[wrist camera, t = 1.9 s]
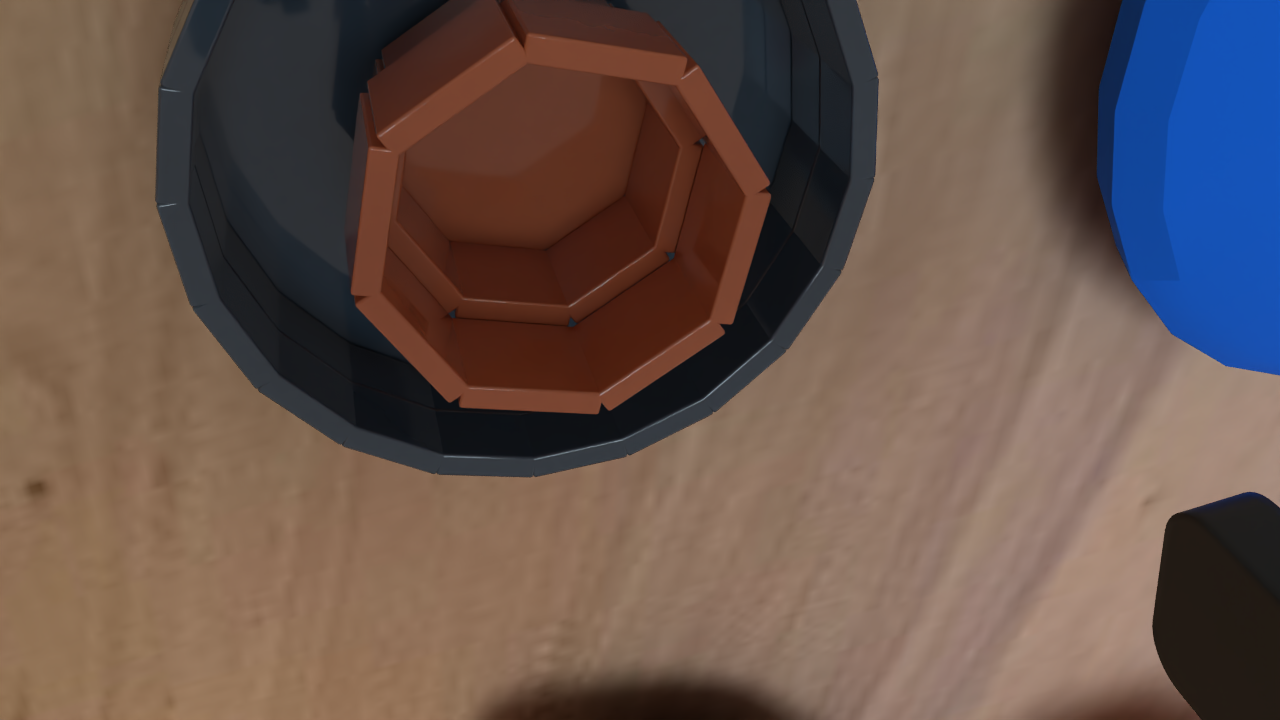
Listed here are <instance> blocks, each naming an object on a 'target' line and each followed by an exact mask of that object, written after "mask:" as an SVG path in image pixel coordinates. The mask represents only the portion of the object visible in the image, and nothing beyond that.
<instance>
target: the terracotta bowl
mask: <svg viewBox="0 0 1280 720" xmlns="http://www.w3.org/2000/svg"><path fill="white" fill-rule="evenodd" d="M381 56H382V60H381V59H376V60H375V62H374V71H373V78H371V79H370V80H368V82H367V88H368V93H360V95H359V101H358V110H357V119H356V127H355V136H354V145H353V154H352V162H351V171H350V180H349V188H348V197H347V206H346V215H345V223H344V235H345V244H346V254H347V264H348V273H349V283H350V292H351V294H352V295H354V300H355V306H356V307H357V308H358V310H359V311H360V312H361V313H362V314H363V315H364V316H365V317H366V318H367V319H368V320H369V321H370V322H371V323H372V324H373V325H374V326H375V327H376V328H377V329H378V330H379V331H380V332H381V333H382V334H383V335H384V336H385V337H386V339H387V340H388V341H389V342H390V343H391V344H392V345H393V346H394V347H395V348H396V349H397V350H398V351H399V352H400V353H401V354H402V355H403V356H404V357H405V358H406V359H407V360H408V361H409V362H410V363H411V364H412V365H413V366H414V367H415V369H416V370H417V371H418V372H419V373H420V374H421V375H422V376H423V377H424V378H425V379H426V380H427V381H428V382H429V383H430V384H431V385H432V386H433V387H434V388H435V389H436V390H437V391H438V392H439V393H440V394H441V395H442V396H443V397H444V399H445V400H446V401H448V402H449V403H450V402H452V401H454V400H455V399H457V398H458V403H459V406H460V407H461V408H477V409H497V410H518V411H538V412H559V413H579V414H598V413H599V411H600V407H601V403H602V404H603V405H604V406H605V408H606V409H607V410H609V411H610V410H612V409H614V408H615V407H617V406H618V405H620V404H621V403H623V402H624V401H626V400H627V399H629V398H630V397H632V396H633V395H635V394H636V393H638V392H639V391H641V390H642V389H644V388H645V387H647V386H648V385H650V384H651V383H652V382H654V381H655V380H657V379H658V378H660V377H661V376H663V375H664V374H666V373H667V372H669V371H670V370H672V369H673V368H675V367H676V366H678V365H679V364H681V363H682V362H684V361H685V360H687V359H688V358H690V357H691V356H693V355H694V354H696V353H697V352H699V351H700V350H702V349H703V348H705V347H706V346H708V345H709V344H711V343H712V342H714V341H715V340H717V339H718V338H720V337H721V336H723V335H724V334H725V330H724V329H723V327H722V325H721V324H729V325H730V324H732V323H733V321H734V318H735V314H736V311H737V308H738V305H739V301H740V298H741V295H742V291H743V288H744V285H745V282H746V278H747V275H748V272H749V268H750V265H751V262H752V259H753V255H754V252H755V249H756V245H757V242H758V239H759V236H760V232H761V229H762V226H763V222H764V219H765V216H766V213H767V209H768V206H769V203H770V199H771V194H770V192H769V191H768V190H767V189H766V187H767V186H769V185H770V181H769V179H768V177H767V176H766V174H765V172H764V171H763V169H762V167H761V166H760V164H759V162H758V161H757V159H756V158H755V156H754V154H753V153H752V151H751V149H750V148H749V146H748V144H747V143H746V141H745V140H744V138H743V136H742V135H741V133H740V131H739V130H738V128H737V126H736V125H735V123H734V122H733V120H732V118H731V117H730V115H729V113H728V112H727V110H726V108H725V107H724V105H723V103H722V102H721V100H720V99H719V97H718V95H717V94H716V92H715V90H714V89H713V87H712V85H711V84H710V82H709V81H708V79H707V77H706V76H705V74H704V72H703V71H702V69H701V67H700V66H699V65H698V64H697V62H696V61H695V60H694V59H693V58H692V57H691V56H690V55H689V53H688V52H687V51H686V50H685V49H684V48H683V47H682V45H681V44H680V43H679V42H678V41H677V40H676V39H675V38H674V36H673V35H672V34H671V33H670V32H669V31H668V30H667V29H666V27H665V26H664V25H663V24H662V23H661V22H660V21H655V20H654V19H653V18H652V17H651V16H650V15H649V14H648V13H644V12H638V11H632V10H626V9H620V8H615V7H614V5H613V4H611V3H609V4H608V3H607V2H606V1H605V0H449V1H448V2H446V3H445V4H444V5H442V6H441V7H440V8H438V9H437V10H435V11H434V12H433V13H431V14H430V15H429V16H427V17H426V18H424V19H423V20H422V21H420V22H419V23H418V24H416V25H415V26H413V27H412V28H411V29H409V30H408V31H407V32H405V33H404V34H402V35H401V36H400V37H398V38H397V39H396V40H394V41H393V42H391V43H390V44H389V45H387V46H386V47H385V48H383V49H382V50H381ZM700 139H702V140H703V142H704V143H705V144H704V147H703V144H702V143H701V142H700ZM624 195H625V196H624ZM623 196H624V197H623ZM546 249H547V250H546ZM666 252H669V253H675V256H674V258H673V259H672V260H670V259H669V256H668V254H667V253H666ZM669 260H670V261H669ZM668 261H669V262H668ZM665 263H666V264H665ZM662 265H663V266H662ZM649 274H650V275H649ZM646 276H647V277H646ZM643 278H644V279H643ZM640 280H641V281H640ZM627 289H628V290H627ZM624 291H625V292H624ZM621 293H622V294H621ZM618 295H619V296H618ZM615 297H616V298H615ZM605 304H606V305H605ZM602 306H603V307H602ZM599 308H600V309H599ZM453 310H454V314H455V317H456V318H452V317H451V316H450V315H449V314H448V313H450V312H452V311H453ZM596 310H597V311H596ZM593 312H594V313H593ZM570 317H571V319H572V320H573V321H574V322H575V323H578V324H576V325H575V326H573V327H569V326H568V325H569V321H570ZM583 319H584V320H583ZM580 321H581V322H580Z"/></svg>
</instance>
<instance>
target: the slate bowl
mask: <svg viewBox="0 0 1280 720" xmlns="http://www.w3.org/2000/svg"><path fill="white" fill-rule="evenodd" d="M448 1H449V0H183V2H182V4H181V7H180V9H179V12H178V14H177V16H176V19H175V21H174V24H173V29H172V33H171V37H170V41H169V45H168V50H167V54H166V58H165V62H164V67H163V71H162V75H161V79H160V84H159V88H158V118H157V152H156V187H155V201H156V203H157V205H156V207H157V210H158V213H159V216H160V219H161V222H162V225H163V227H164V230H165V233H166V236H167V239H168V242H169V245H170V248H171V251H172V254H173V257H174V260H175V263H176V265H177V268H178V271H179V274H180V277H181V280H182V283H183V286H184V289H185V292H186V295H187V298H188V301H189V303H190V305H191V306H192V308H193V311H194V312H195V313H196V314H197V316H198V317H199V318H200V319H201V321H202V322H203V323H204V324H205V326H206V327H207V328H208V329H209V331H210V332H211V333H212V334H213V336H214V337H215V338H216V340H217V341H218V342H219V343H220V345H221V346H222V347H223V348H224V350H225V351H226V352H227V353H228V355H229V356H230V357H231V358H232V360H233V361H234V362H235V363H236V365H237V366H238V367H239V368H240V370H241V371H242V372H243V373H244V375H245V376H246V377H247V379H248V380H249V381H250V382H251V384H252V385H253V386H254V387H255V388H256V389H258V391H259V392H260V393H262V394H264V395H265V396H267V397H268V398H270V399H271V400H273V401H274V402H276V403H277V404H279V405H280V406H282V407H283V408H285V409H286V410H288V411H289V412H291V413H292V414H294V415H295V416H297V417H298V418H300V419H301V420H303V421H304V422H306V423H307V424H309V425H310V426H312V427H314V428H315V429H317V430H318V431H320V432H321V433H323V434H324V435H326V436H327V437H329V438H330V439H332V440H333V441H335V442H336V443H338V444H340V445H341V444H342V446H344V447H346V448H350V449H353V450H356V451H359V452H363V453H366V454H369V455H373V456H376V457H379V458H382V459H386V460H389V461H392V462H396V463H399V464H402V465H406V466H409V467H412V468H415V469H419V470H422V471H425V472H429V473H432V474H436V473H437V474H439V475H466V476H499V477H533V476H534V477H538V476H543V475H547V474H552V473H556V472H560V471H565V470H569V469H574V468H578V467H583V466H587V465H592V464H596V463H601V462H605V461H610V460H614V459H619V458H623V457H626V456H627V454H628V455H632V454H634V453H636V452H638V451H640V450H642V449H644V448H646V447H648V446H650V445H652V444H654V443H656V442H658V441H660V440H662V439H664V438H666V437H668V436H670V435H672V434H674V433H676V432H678V431H680V430H682V429H684V428H686V427H688V426H690V425H692V424H694V423H696V422H698V421H700V420H702V419H704V418H706V417H708V416H710V415H712V414H713V412H716V411H717V410H719V409H720V408H721V407H722V406H723V405H724V404H726V403H727V402H728V401H729V400H730V399H731V398H733V397H734V396H735V395H736V394H737V393H738V392H740V391H741V390H742V389H743V388H744V387H745V386H747V385H748V384H749V383H750V382H751V381H752V380H754V379H755V378H756V377H757V376H758V375H759V374H761V373H762V372H763V371H764V370H765V369H767V368H768V367H769V366H770V365H771V364H772V363H774V362H775V361H776V360H777V359H778V358H779V357H781V356H782V355H783V354H784V353H785V352H786V349H789V348H790V346H791V345H792V343H793V342H794V340H795V339H796V337H797V336H798V335H799V333H800V332H801V330H802V329H803V327H804V326H805V325H806V323H807V322H808V320H809V319H810V317H811V316H812V314H813V313H814V312H815V310H816V309H817V307H818V306H819V304H820V303H821V302H822V300H823V299H824V297H825V296H826V294H827V293H828V292H829V290H830V289H831V287H832V286H833V284H834V283H835V281H836V280H837V279H838V277H839V276H840V274H841V270H843V268H844V266H845V263H846V260H847V257H848V254H849V252H850V249H851V246H852V243H853V240H854V237H855V234H856V231H857V228H858V226H859V223H860V220H861V217H862V214H863V211H864V208H865V205H866V203H867V200H868V197H869V194H870V191H871V188H872V185H873V182H874V178H873V177H875V166H876V139H877V111H878V84H879V79H878V77H877V76H878V72H877V69H876V65H875V62H874V58H873V55H872V52H871V48H870V45H869V41H868V38H867V35H866V31H865V28H864V25H863V21H862V18H861V14H860V11H859V8H858V4H857V1H856V0H605V1H606V2H607V3H608V4H609V3H611V4H613V5H614V7H615V8H620V9H626V10H632V11H638V12H644V13H648V14H649V15H650V16H651V17H652V18H653V19H654V20H655V21H660V22H661V23H662V24H663V25H664V26H665V27H666V29H667V30H668V31H669V32H670V33H671V34H672V35H673V36H674V38H675V39H676V40H677V41H678V42H679V43H680V44H681V45H682V47H683V48H684V49H685V50H686V51H687V52H688V53H689V55H690V56H691V57H692V58H693V59H694V60H695V61H696V62H697V64H698V65H699V66H700V67H701V69H702V71H703V72H704V74H705V76H706V77H707V79H708V81H709V82H710V84H711V85H712V87H713V89H714V90H715V92H716V94H717V95H718V97H719V99H720V100H721V102H722V103H723V105H724V107H725V108H726V110H727V112H728V113H729V115H730V117H731V118H732V120H733V122H734V123H735V125H736V126H737V128H738V130H739V131H740V133H741V135H742V136H743V138H744V140H745V141H746V143H747V144H748V146H749V148H750V149H751V151H752V153H753V154H754V156H755V158H756V159H757V161H758V162H759V164H760V166H761V167H762V169H763V171H764V172H765V174H766V176H767V177H768V179H769V181H770V185H769V186H767V187H766V189H767V190H768V191H769V192H770V194H771V199H770V203H769V206H768V209H767V213H766V216H765V219H764V222H763V226H762V229H761V232H760V236H759V239H758V242H757V245H756V249H755V252H754V255H753V259H752V262H751V265H750V268H749V272H748V275H747V278H746V282H745V285H744V288H743V291H742V295H741V298H740V301H739V305H738V308H737V311H736V314H735V318H734V321H733V323H732V324H730V325H729V324H721V325H722V327H723V329H724V330H725V334H724V335H723V336H721V337H720V338H718V339H717V340H715V341H714V342H712V343H711V344H709V345H708V346H706V347H705V348H703V349H702V350H700V351H699V352H697V353H696V354H694V355H693V356H691V357H690V358H688V359H687V360H685V361H684V362H682V363H681V364H679V365H678V366H676V367H675V368H673V369H672V370H670V371H669V372H667V373H666V374H664V375H663V376H661V377H660V378H658V379H657V380H655V381H654V382H652V383H651V384H650V385H648V386H647V387H645V388H644V389H642V390H641V391H639V392H638V393H636V394H635V395H633V396H632V397H630V398H629V399H627V400H626V401H624V402H623V403H621V404H620V405H618V406H617V407H615V408H614V409H612V410H610V411H609V410H607V409H606V408H605V406H604V405H603V404H602V403H601V407H600V411H599V413H598V414H579V413H559V412H538V411H518V410H497V409H477V408H461V407H460V406H459V403H458V398H457V399H455V400H454V401H452V402H450V403H449V402H448V401H446V400H445V399H444V397H443V396H442V395H441V394H440V393H439V392H438V391H437V390H436V389H435V388H434V387H433V386H432V385H431V384H430V383H429V382H428V381H427V380H426V379H425V378H424V377H423V376H422V375H421V374H420V373H419V372H418V371H417V370H416V369H415V367H414V366H413V365H412V364H411V363H410V362H409V361H408V360H407V359H406V358H405V357H404V356H403V355H402V354H401V353H400V352H399V351H398V350H397V349H396V348H395V347H394V346H393V345H392V344H391V343H390V342H389V341H388V340H387V339H386V337H385V336H384V335H383V334H382V333H381V332H380V331H379V330H378V329H377V328H376V327H375V326H374V325H373V324H372V323H371V322H370V321H369V320H368V319H367V318H366V317H365V316H364V315H363V314H362V313H361V312H360V311H359V310H358V308H357V307H356V306H355V300H354V295H352V294H351V292H350V283H349V273H348V264H347V254H346V244H345V235H344V223H345V215H346V206H347V197H348V188H349V180H350V171H351V162H352V154H353V145H354V136H355V127H356V119H357V110H358V101H359V95H360V93H368V88H367V82H368V80H370V79H371V78H373V71H374V62H375V60H376V59H381V60H382V56H381V50H382V49H383V48H385V47H386V46H387V45H389V44H390V43H391V42H393V41H394V40H396V39H397V38H398V37H400V36H401V35H402V34H404V33H405V32H407V31H408V30H409V29H411V28H412V27H413V26H415V25H416V24H418V23H419V22H420V21H422V20H423V19H424V18H426V17H427V16H429V15H430V14H431V13H433V12H434V11H435V10H437V9H438V8H440V7H441V6H442V5H444V4H445V3H446V2H448ZM700 142H701V143H702V144H703V147H704V144H705V143H704V142H703V140H702V139H700ZM624 196H625V195H624ZM624 196H623V197H624ZM546 250H547V249H546ZM666 253H667V254H668V256H669V259H670V260H672V259H673V258H674V256H675V253H669V252H666ZM670 260H669V261H670ZM669 261H668V262H669ZM665 264H666V263H665ZM662 266H663V265H662ZM649 275H650V274H649ZM646 277H647V276H646ZM643 279H644V278H643ZM640 281H641V280H640ZM627 290H628V289H627ZM624 292H625V291H624ZM621 294H622V293H621ZM618 296H619V295H618ZM615 298H616V297H615ZM605 305H606V304H605ZM602 307H603V306H602ZM599 309H600V308H599ZM596 311H597V310H596ZM593 313H594V312H593ZM448 314H449V315H450V316H451V317H452V318H456V317H455V314H454V310H453V311H452V312H450V313H448ZM583 320H584V319H583ZM580 322H581V321H580ZM576 324H578V323H575V322H574V321H573V320H572V319H571V317H570V321H569V325H568V326H569V327H573V326H575V325H576Z"/></svg>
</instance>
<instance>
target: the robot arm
mask: <svg viewBox="0 0 1280 720" xmlns="http://www.w3.org/2000/svg"><path fill="white" fill-rule="evenodd" d="M1152 628H1153V637H1154V642H1155V646H1156V649H1157V653H1158V655H1159V658H1160V661H1161V663H1162V665H1163V667H1164V669H1165V671H1166V673H1167V675H1168V677H1169V678H1170V680H1171V682H1172V683H1173V685H1174V686H1175V687H1176V689H1177V690H1178V691H1179V693H1180V694H1181V695H1182V696H1183V698H1184V699H1185V700H1186V701H1187V702H1188V704H1189V705H1190V706H1191V707H1192V709H1193V710H1194V711H1195V712H1196V714H1197V715H1198V716H1199V717H1200V718H1201V720H1280V508H1279V507H1278V506H1277V505H1276V504H1275V503H1273V502H1272V501H1271V500H1270V499H1268V498H1266V497H1265V496H1263V495H1261V494H1258V493H1255V492H1246V493H1242V494H1239V495H1235V496H1232V497H1229V498H1226V499H1222V500H1219V501H1216V502H1213V503H1209V504H1206V505H1203V506H1200V507H1196V508H1193V509H1190V510H1187V511H1183V512H1180V513H1177V514H1175V515H1173V516H1172V517H1171V518H1170V519H1169V520H1168V522H1167V525H1166V529H1165V534H1164V541H1163V549H1162V556H1161V563H1160V571H1159V578H1158V585H1157V593H1156V600H1155V607H1154V615H1153V625H1152Z"/></svg>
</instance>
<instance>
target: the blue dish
mask: <svg viewBox="0 0 1280 720" xmlns="http://www.w3.org/2000/svg"><path fill="white" fill-rule="evenodd" d="M1097 179H1098V182H1099V186H1100V190H1101V193H1102V197H1103V200H1104V204H1105V208H1106V211H1107V215H1108V218H1109V222H1110V226H1111V229H1112V233H1113V236H1114V240H1115V244H1116V247H1117V249H1118V251H1119V253H1120V255H1121V258H1122V260H1123V262H1124V264H1125V266H1126V268H1127V271H1128V273H1129V275H1130V277H1131V279H1132V281H1133V282H1134V284H1135V285H1136V286H1137V288H1138V289H1139V291H1140V292H1141V293H1142V295H1143V296H1144V297H1145V299H1146V300H1147V301H1148V303H1149V304H1150V305H1151V307H1152V308H1153V309H1154V311H1155V312H1156V314H1157V315H1158V316H1159V318H1160V319H1161V320H1162V322H1163V323H1164V324H1165V326H1166V327H1167V328H1168V330H1169V331H1170V332H1171V334H1173V335H1174V336H1176V337H1178V338H1179V339H1181V340H1183V341H1184V342H1186V343H1188V344H1190V345H1191V346H1193V347H1195V348H1196V349H1198V350H1200V351H1201V352H1203V353H1205V354H1207V355H1208V356H1210V357H1212V358H1213V359H1215V360H1217V361H1218V362H1220V363H1222V364H1223V365H1225V366H1229V367H1235V368H1241V369H1246V370H1252V371H1258V372H1264V373H1269V374H1275V375H1280V0H1122V4H1121V7H1120V11H1119V15H1118V19H1117V22H1116V26H1115V30H1114V34H1113V37H1112V41H1111V45H1110V49H1109V52H1108V56H1107V60H1106V64H1105V67H1104V71H1103V75H1102V79H1101V82H1100V86H1099V104H1098V145H1097Z"/></svg>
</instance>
